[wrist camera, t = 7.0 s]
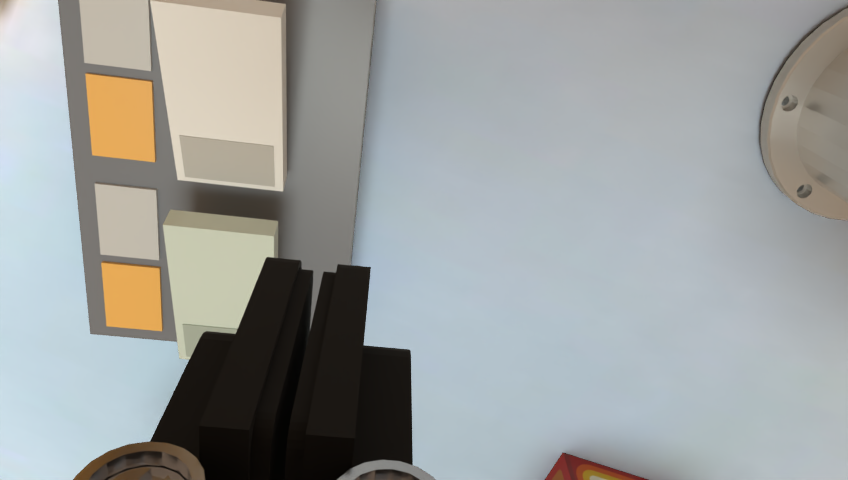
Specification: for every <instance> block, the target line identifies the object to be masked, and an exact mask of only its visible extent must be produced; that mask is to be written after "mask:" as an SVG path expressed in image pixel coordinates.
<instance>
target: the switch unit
mask: <svg viewBox="0 0 848 480" xmlns="http://www.w3.org/2000/svg"><path fill="white" fill-rule="evenodd" d="M260 1H267V2H275V3H282V4H286V97H287V178H286V182H285V186H284V190H283V191H274V190H264V189H255V188H246V187H237V186H228V185H219V184H210V183H201V182H192V181H183V180H178V179H177V173H176V166H175V160H174V153H173V147H172V140H171V134H170V127H169V121H168V114H167V108H166V101H165V95H164V88H163V82H162V75H161V69H160V62H159V56H158V49H157V42H156V36H155V29H154V23H153V16H152V10H151V3H150V0H58V4H59V14H60V25H61V35H62V45H63V56H64V66H65V76H66V87H67V97H68V107H69V118H70V128H71V138H72V149H73V159H74V169H75V179H76V190H77V200H78V210H79V221H80V231H81V241H82V252H83V262H84V272H85V283H86V293H87V303H88V314H89V324H90V334H97V335H109V336H120V337H131V338H142V339H154V340H165V341H176V342H177V335H176V327H175V319H174V311H173V303H172V295H171V287H170V279H169V271H168V263H167V255H166V247H165V239H164V231H163V223H164V221H165V219H166V217H167V215H168V213H169V211H170V210H180V211H189V212H199V213H208V214H218V215H227V216H236V217H246V218H255V219H265V220H274V221H278V258H283V259H292V260H301V262H302V269H305V270H313V291H312V306H311V321H310V329H311V325H312V320H313V316H314V311H315V307H316V302H317V298H318V294H319V289H320V285H321V280H322V276H323V272H324V271H325V272H335V273H336V270H337V265H338V264H342V265H351V259H352V249H353V239H354V228H355V218H356V208H357V198H358V188H359V177H360V167H361V157H362V147H363V137H364V126H365V116H366V106H367V96H368V86H369V75H370V65H371V55H372V45H373V35H374V24H375V14H376V4H377V0H260Z"/></svg>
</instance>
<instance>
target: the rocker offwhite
mask: <svg viewBox="0 0 848 480" xmlns="http://www.w3.org/2000/svg"><path fill="white" fill-rule="evenodd" d="M150 3H151V10H152V16H153V23H154V29H155V36H156V42H157V49H158V56H159V62H160V69H161V75H162V82H163V88H164V95H165V101H166V108H167V114H168V121H169V127H170V134H171V140H172V147H173V153H174V160H175V166H176V173H177V179H178V180H183V181H192V182H201V183H210V184H219V185H228V186H237V187H246V188H255V189H264V190H274V191H283V190H284V186H285V182H286V178H287V97H286V4H282V3H275V2H267V1H260V0H150Z"/></svg>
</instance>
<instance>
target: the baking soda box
mask: <svg viewBox="0 0 848 480" xmlns="http://www.w3.org/2000/svg"><path fill="white" fill-rule="evenodd" d="M545 480H647V479H644V478H641V477H638V476H635V475H632V474H629V473H625V472H622V471H619V470H616V469H613V468H610V467H607V466H603V465H600V464H597V463H594V462H591V461H588V460H585V459H582V458H578V457H575V456H572V455H569V454H566V453H562V455H561V456H560V458H559V459H558V461H557V462H556V464H555V465H554V467H553V468H552V470H551V471H550V473H549V474H548V476H547V477H546V479H545Z"/></svg>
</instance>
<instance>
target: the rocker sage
mask: <svg viewBox="0 0 848 480" xmlns="http://www.w3.org/2000/svg"><path fill="white" fill-rule="evenodd" d="M163 231H164V239H165V247H166V255H167V263H168V271H169V279H170V287H171V295H172V303H173V311H174V319H175V327H176V335H177V343H178V351H179V359H190V358H191V356H192V353H193V351H194V349H195V347H196V345H197V343H198V341H199V339H200V337H201V336H202V334H203V333H204V332H206V331H210V332H221V333H232V334H236V332H237V329H238V327H239V324H240V322H241V319H242V317H243V314H244V312H245V309H246V307H247V304H248V302H249V299H250V297H251V294H252V292H253V289H254V287H255V284H256V282H257V279H258V277H259V274H260V272H261V269H262V267H263V264H264V262H265V259H266V258H267V257H273V258H278V221H274V220H265V219H255V218H246V217H236V216H227V215H218V214H208V213H199V212H189V211H180V210H170V211H169V213H168V215H167V217H166V219H165V221H164V223H163Z"/></svg>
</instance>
